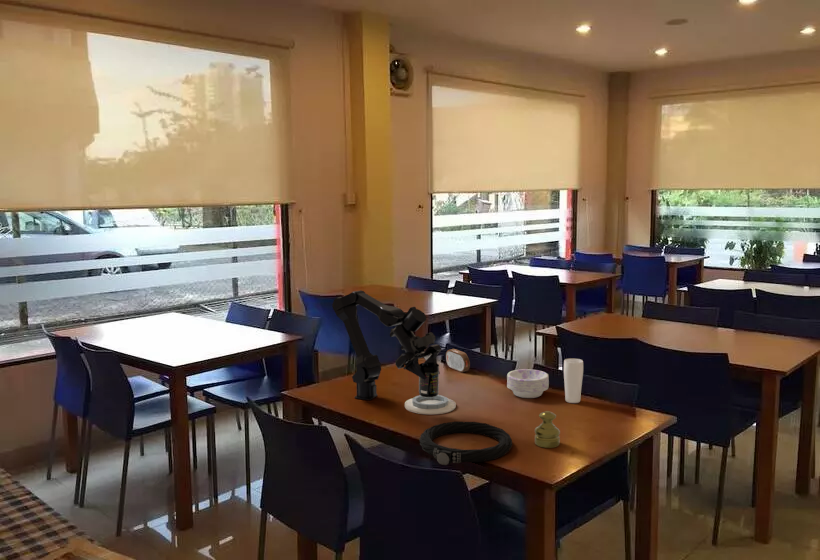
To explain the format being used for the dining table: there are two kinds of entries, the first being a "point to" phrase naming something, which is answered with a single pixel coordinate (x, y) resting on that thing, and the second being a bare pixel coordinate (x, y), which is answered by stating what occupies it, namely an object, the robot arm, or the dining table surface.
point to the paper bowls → (527, 382)
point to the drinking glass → (573, 379)
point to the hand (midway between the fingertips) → (432, 376)
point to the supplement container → (429, 380)
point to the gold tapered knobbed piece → (547, 431)
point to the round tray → (430, 411)
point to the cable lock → (459, 455)
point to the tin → (457, 360)
